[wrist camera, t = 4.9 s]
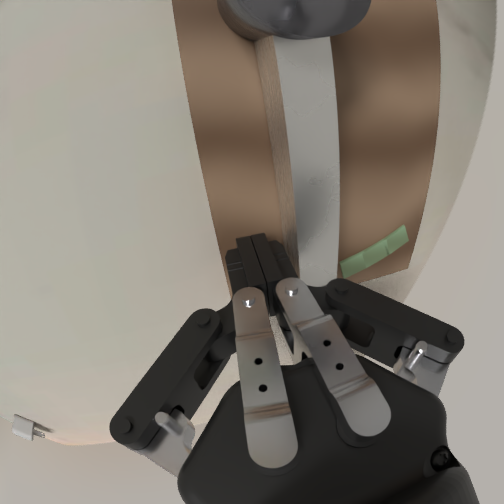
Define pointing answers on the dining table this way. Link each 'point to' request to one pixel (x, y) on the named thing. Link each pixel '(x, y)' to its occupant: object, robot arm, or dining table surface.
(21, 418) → the usb wall charger
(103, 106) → the dining table surface
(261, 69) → the lever
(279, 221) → the plate
